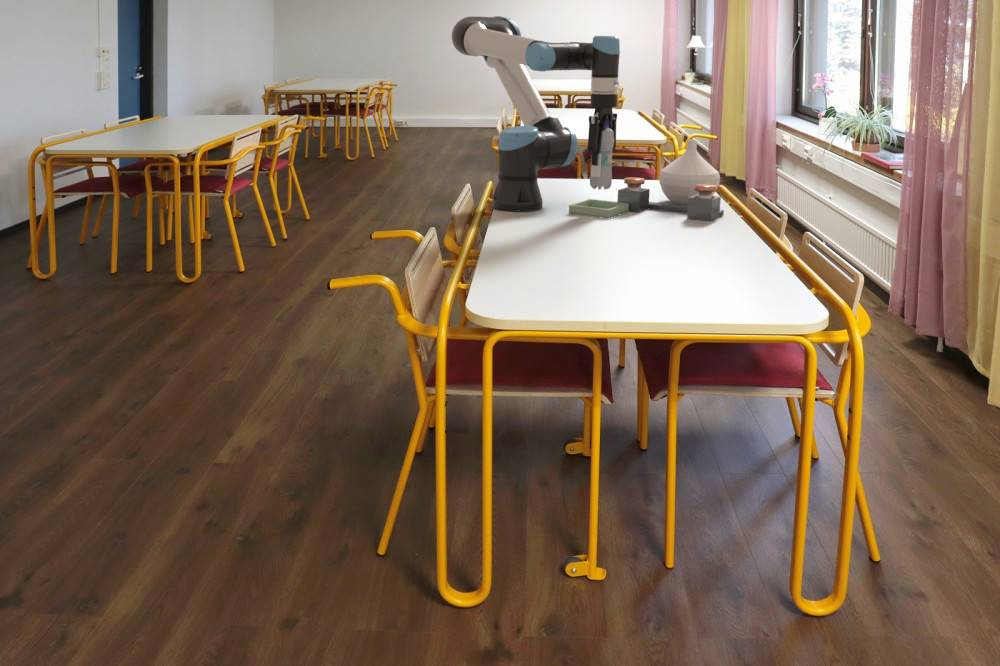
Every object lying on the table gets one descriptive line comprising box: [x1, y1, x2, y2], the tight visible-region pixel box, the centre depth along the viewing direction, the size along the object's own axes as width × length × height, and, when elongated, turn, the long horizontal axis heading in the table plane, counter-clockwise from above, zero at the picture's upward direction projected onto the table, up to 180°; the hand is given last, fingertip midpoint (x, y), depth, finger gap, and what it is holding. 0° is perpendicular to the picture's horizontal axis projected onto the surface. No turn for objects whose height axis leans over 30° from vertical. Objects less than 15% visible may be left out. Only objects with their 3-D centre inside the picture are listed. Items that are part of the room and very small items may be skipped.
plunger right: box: [695, 184, 717, 199], centre depth 277 cm, size 6×6×8 cm
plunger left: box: [623, 177, 646, 191], centre depth 288 cm, size 6×6×8 cm
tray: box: [568, 198, 629, 219], centre depth 284 cm, size 13×13×2 cm
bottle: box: [589, 120, 614, 191], centre depth 279 cm, size 7×7×20 cm
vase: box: [659, 139, 721, 206], centre depth 299 cm, size 18×18×19 cm
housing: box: [617, 186, 724, 222], centre depth 285 cm, size 29×10×6 cm, turn 58°
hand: (600, 175), depth 281 cm, fingers closed on bottle, 6 cm apart
